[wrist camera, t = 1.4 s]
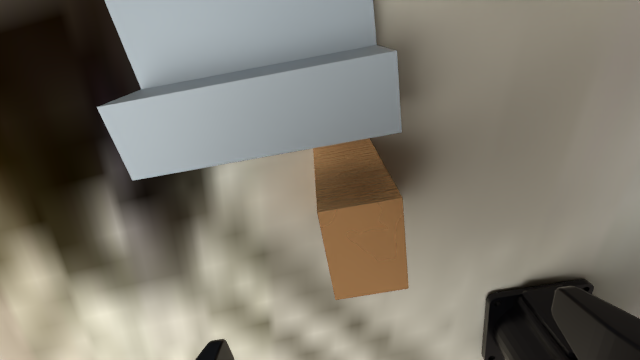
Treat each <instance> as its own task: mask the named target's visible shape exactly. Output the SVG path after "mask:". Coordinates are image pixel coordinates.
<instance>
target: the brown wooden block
mask: <svg viewBox="0 0 640 360" xmlns="http://www.w3.org/2000/svg"><path fill="white" fill-rule="evenodd" d="M313 151H314V167H315V183H316V199H317V213H318V218H319V223H320V228H321V233H322V237H323V242H324V247H325V252H326V256H327V261H328V266H329V271H330V276H331V280H332V285H333V290H334V295H335V299H336V300H339V299H345V298H351V297H358V296H364V295H370V294H376V293H383V292H389V291H395V290H402V289H408V273H407V258H406V243H405V228H404V213H403V198H402V196H401V194H400V193H399V191H398V189H397V187H396V185H395V184H394V182H393V180H392V178H391V176H390V175H389V173H388V171H387V169H386V167H385V166H384V164H383V162H382V160H381V159H380V157H379V155H378V153H377V151H376V150H375V148H374V146H373V144H372V142H371V141H370V139H369V138H368V139H362V140H357V141H351V142H345V143H340V144H334V145H329V146H323V147H317V148H313Z"/></svg>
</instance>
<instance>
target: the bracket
mask: <svg viewBox="0 0 640 360" xmlns="http://www.w3.org/2000/svg"><path fill="white" fill-rule="evenodd" d="M105 3H106V5H107V7H108V10H109V12H110V15H111V17H112V19H113V22H114V24H115V27H116V29H117V32H118V34H119V36H120V39H121V41H122V44H123V46H124V48H125V51H126V53H127V56H128V58H129V60H130V63H131V65H132V68H133V70H134V72H135V75H136V77H137V80H138V82H139V84H140V87H141V90H139V91H136V92H134V93H131V94H129V95H126V96H124V97H121V98H119V99H116V100H114V101H111V102H109V103H106V104H104V105H101V106H99V107H97V109H98V111H99V113H100V115H101V117H102V119H103V121H104V123H105V125H106V127H107V129H108V131H109V133H110V135H111V137H112V139H113V141H114V144H115V146H116V148H117V150H118V152H119V154H120V156H121V158H122V160H123V162H124V164H125V166H126V168H127V170H128V172H129V174H130V176H131V178H132V180H138V179H143V178H149V177H154V176H160V175H166V174H171V173H177V172H183V171H188V170H194V169H199V168H205V167H211V166H216V165H222V164H227V163H233V162H239V161H244V160H250V159H256V158H261V157H267V156H272V155H278V154H284V153H289V152H295V151H300V150H306V149H312V148H317V147H323V146H329V145H334V144H340V143H345V142H351V141H357V140H362V139H368V138H373V137H379V136H385V135H390V134H396V133H402V126H401V109H400V93H399V76H398V60H397V51H396V50H393V49H390V48H386V47H383V46H379V45H377V42H376V30H375V18H374V7H373V0H105Z"/></svg>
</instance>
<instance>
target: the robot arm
mask: <svg viewBox="0 0 640 360" xmlns="http://www.w3.org/2000/svg"><path fill="white" fill-rule="evenodd" d="M593 289H594V286H593V285H592V284H591V283H590V282H589V281H588V280H586V279H581V280H575V281H568V282H562V283H555V284H549V285H542V286H536V287H530V288H523V289H517V290H510V291H504V292H498V293H493V294H491V295H489V296H488V297H487V299H486V310H485V322H484V334H483V346H482V356H483V358H484V360H640V319H639V318H637V317H635V316H633V315H631V314H629V313H627V312H625V311H623V310H621V309H619V308H617V307H615V306H613V305H611V304H610V303H608V302H606V301H604V300H602V299H600V298H598V297H596V296H594V295H592V292H593ZM196 360H234V357H233V355H232V353H231V350H230V348H229V346H228V344H227V342H226V340H224V339H219V340H213V341H210V342H209V343H208V344H207V345H206V346H205V348H204V349H203V350H202V352H201V353H200V354H199V356H198V357H197V358H196Z"/></svg>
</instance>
